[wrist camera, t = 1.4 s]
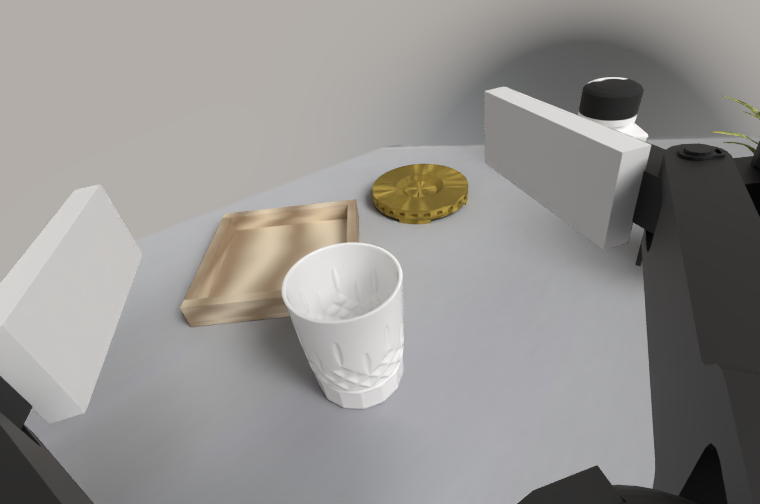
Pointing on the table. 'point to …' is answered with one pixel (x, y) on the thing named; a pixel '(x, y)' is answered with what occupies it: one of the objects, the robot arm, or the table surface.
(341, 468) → the table surface
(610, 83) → the medicine bottle
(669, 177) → the robot arm
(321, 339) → the white cup
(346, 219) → the tray
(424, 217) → the gold notched disc
